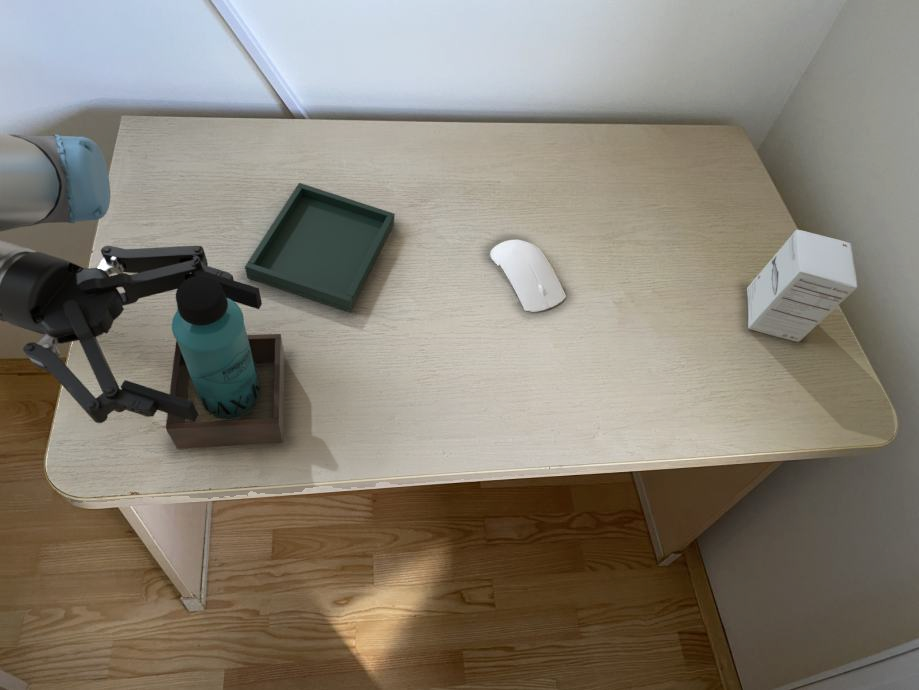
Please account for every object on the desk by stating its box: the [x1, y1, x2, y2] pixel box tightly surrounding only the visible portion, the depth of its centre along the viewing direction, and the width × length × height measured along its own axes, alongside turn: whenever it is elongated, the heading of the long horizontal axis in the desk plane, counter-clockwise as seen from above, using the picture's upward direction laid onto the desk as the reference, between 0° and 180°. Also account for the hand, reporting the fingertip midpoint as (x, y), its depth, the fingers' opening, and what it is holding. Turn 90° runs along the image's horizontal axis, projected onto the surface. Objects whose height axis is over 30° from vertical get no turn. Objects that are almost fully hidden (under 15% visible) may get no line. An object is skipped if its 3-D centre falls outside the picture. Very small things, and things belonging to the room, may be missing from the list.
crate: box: [165, 333, 286, 450], centre depth 71 cm, size 11×11×5 cm
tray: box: [244, 182, 396, 313], centre depth 85 cm, size 16×14×2 cm
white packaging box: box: [746, 229, 858, 343], centre depth 85 cm, size 7×7×13 cm
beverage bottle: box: [171, 276, 262, 420], centre depth 65 cm, size 6×7×20 cm
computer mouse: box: [489, 239, 567, 313], centre depth 87 cm, size 7×12×2 cm, turn 28°
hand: (228, 352), depth 64 cm, fingers open, 13 cm apart
